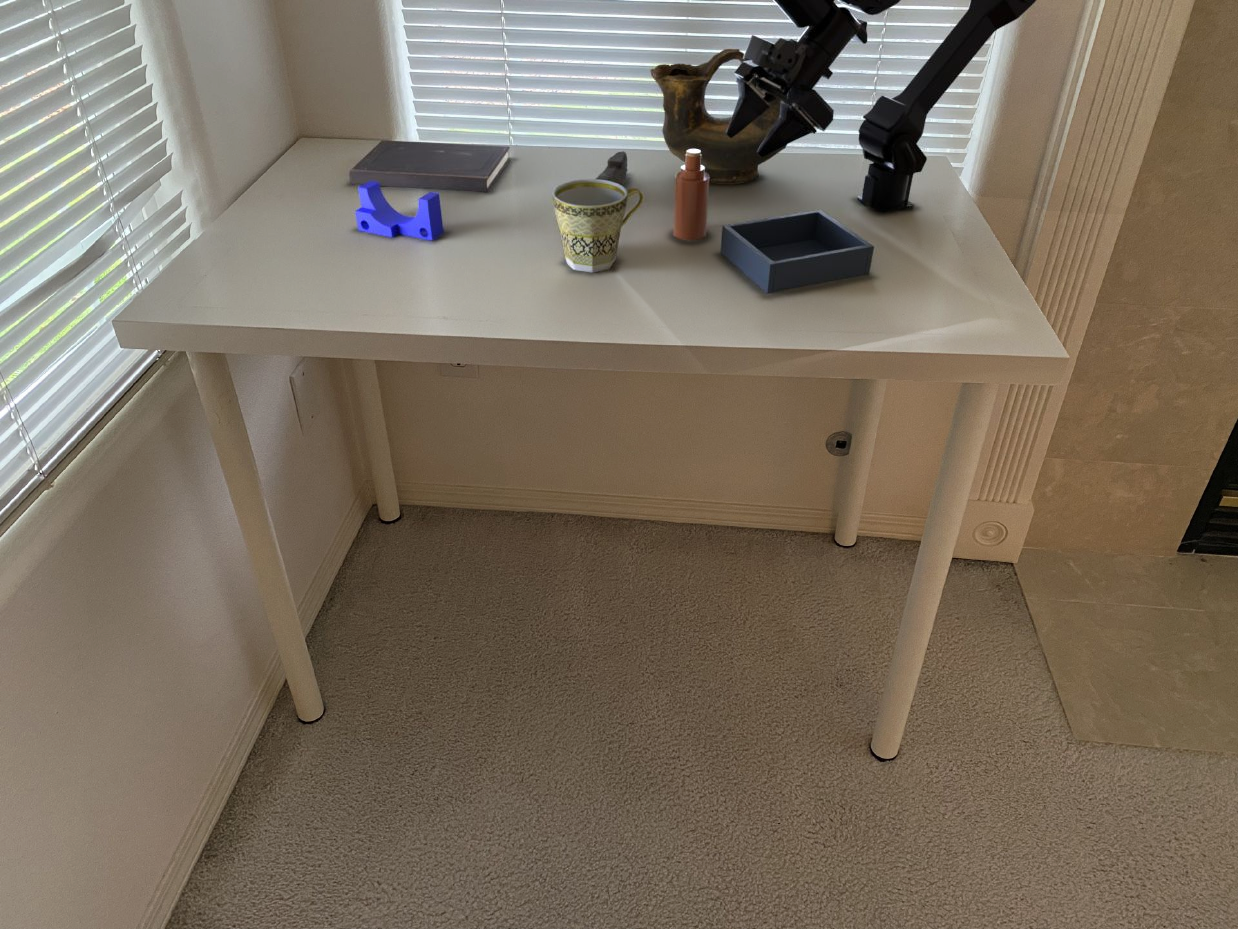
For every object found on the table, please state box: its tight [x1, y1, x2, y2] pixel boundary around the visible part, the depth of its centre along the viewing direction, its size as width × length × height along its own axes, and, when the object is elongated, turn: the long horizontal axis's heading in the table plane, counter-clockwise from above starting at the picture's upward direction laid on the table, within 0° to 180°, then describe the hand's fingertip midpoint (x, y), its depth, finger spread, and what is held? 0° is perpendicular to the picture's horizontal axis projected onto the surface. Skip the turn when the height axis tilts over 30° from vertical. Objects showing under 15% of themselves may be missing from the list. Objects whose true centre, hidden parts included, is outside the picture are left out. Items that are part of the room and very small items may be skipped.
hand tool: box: [595, 151, 628, 187], centre depth 149 cm, size 19×4×5 cm, turn 159°
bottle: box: [672, 149, 710, 241], centre depth 133 cm, size 5×5×12 cm
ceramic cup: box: [551, 178, 644, 273], centre depth 127 cm, size 13×10×10 cm
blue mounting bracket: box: [354, 181, 445, 242], centre depth 136 cm, size 12×4×6 cm, turn 65°
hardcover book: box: [348, 139, 511, 193], centre depth 157 cm, size 16×23×2 cm
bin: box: [720, 209, 875, 295], centre depth 128 cm, size 16×14×4 cm
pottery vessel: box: [650, 48, 788, 185], centre depth 151 cm, size 25×11×20 cm, turn 96°
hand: (743, 145), depth 131 cm, fingers open, 9 cm apart
